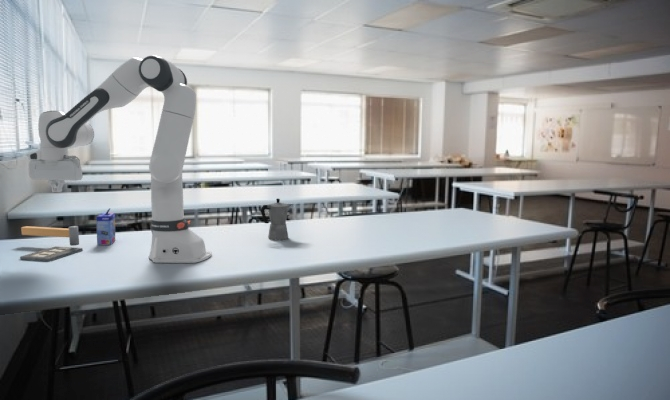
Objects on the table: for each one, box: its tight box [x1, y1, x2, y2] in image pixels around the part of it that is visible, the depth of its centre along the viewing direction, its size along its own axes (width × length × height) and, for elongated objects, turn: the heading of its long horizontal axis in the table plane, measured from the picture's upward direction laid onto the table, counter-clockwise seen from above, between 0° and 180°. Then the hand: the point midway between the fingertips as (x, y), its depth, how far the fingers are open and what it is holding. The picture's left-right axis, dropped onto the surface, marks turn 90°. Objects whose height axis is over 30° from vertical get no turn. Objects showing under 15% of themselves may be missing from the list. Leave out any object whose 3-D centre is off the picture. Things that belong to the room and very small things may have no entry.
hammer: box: [20, 225, 80, 247], centre depth 178 cm, size 3×25×7 cm, turn 79°
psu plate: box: [19, 246, 84, 262], centre depth 166 cm, size 12×16×1 cm
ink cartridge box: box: [95, 208, 116, 246], centre depth 186 cm, size 10×6×14 cm, turn 15°
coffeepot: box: [260, 198, 292, 241], centre depth 198 cm, size 15×9×18 cm, turn 129°
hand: (57, 192), depth 167 cm, fingers closed
